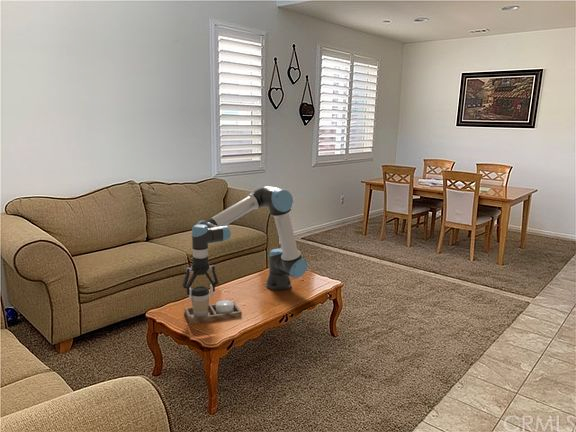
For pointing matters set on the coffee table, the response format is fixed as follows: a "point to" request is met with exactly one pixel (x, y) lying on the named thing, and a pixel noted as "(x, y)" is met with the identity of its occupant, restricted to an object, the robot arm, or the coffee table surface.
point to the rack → (212, 314)
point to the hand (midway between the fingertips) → (200, 299)
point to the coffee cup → (200, 301)
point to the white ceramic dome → (224, 307)
